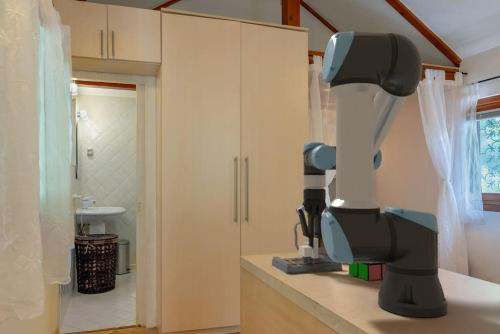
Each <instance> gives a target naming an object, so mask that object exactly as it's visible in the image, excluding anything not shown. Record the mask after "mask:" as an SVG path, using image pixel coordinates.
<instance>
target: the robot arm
mask: <svg viewBox="0 0 500 334" xmlns="http://www.w3.org/2000/svg"><path fill="white" fill-rule="evenodd" d="M327 43H328V44H327V45H326V49H325V51H324V55H323V61H322V69H321V75H322V81H323V82H324V83H326V84H329V92H330V93H331V94H332V95H333V96H334V97H335V98H336V99H335V101H336V111H335V113H336V114H335V117H336V118H335V119H336V121H335V125H336V126H335V127H336V128H335V130H336V131H335V132H336V133H335V134H336V135H335V137H336V138H335V141H336V143H335V145H334V146H333V145H332V146H331V145H328V144H325V143H324V142H320V141H319V142H316V141H315V142H307V143H304V145H303V152H302V156H303V176H302V177H303V181H302V182H303V184H302V185H303V187H304V188H303V193H302V194H303V202H302V206H300V207H299V208H297V207H296V209H295V212H296V213H297V215H298V217H299V221H300V223H301V224H300V227H301V231H302V236H304V237H306V238H308V242H309V246H310V247H312V258H314V259H316V258H318V248H320V239H321V238H323V242H324V246H325V249H326V252H327V254H328V256H329V257H330V259H331V260H333V261H334V262H337V263H341V264H348V265H349V264H353V263H385V275H384V278H383V280H382V281H381V284H380V288H379V291H378V293H377V305H378V306H379V307H380V308H381V309H383V310H385V311H387V312H390V313H393V314H397V315H402V316H406V317H413V318H414V317H415V318H437V317H443V316H444V315H446V314H447V313H448V301H447V298H446V297H445V293H444V289H443V286H442V283H441V280H440V278H439V277H440V276H439V233H440V232H439V225H438V219H437V216H436V215H435V214H433V213H432V212H427V211H421V210H415V209H405V208H398V207H393V206H386V207H385V208H384V211H383V212H381V204H379V203H378V202H377V201H376V200H375V199H374V174H375V173H374V170H375V171H376V170H378V169H379V168H380V167H381V164H382V160H383V157H382V156H383V155H382V151H381V147H382V146H383V143H384V141H385V139H386V138H387V136H388V134H389V132H390V130H391V128H392V127H393V125H394V123H395V121H396V119H397V117H398V115H399V113H400V111H401V110H402V107H403V105H404V104H405V102H406V100H407V98H409V97H411V96H412V95H414V94H415V91H416V90H417V89H418V86H419V85H420V82H421V79H422V75H423V60H422V56H421V53H420V51H419V48H418V46H417V45H416V44H415V42H413V40H411V39H410V38H408V37H407V36H405V35H403V34H401V33H395V32H386V33H385V32H371V31H369V32H365V31H364V32H363V31H355V30H351V31H339V32H335V33H334V34H333V35H332V36H331V37H330V39H329V41H328V42H327ZM326 170H327V171H335V198H334V199H333V200H332V201H331V202H330V203H329V205H327V202H326V199H327V198H326V195H327V192H326V186H327V184H326V183H327V182H326V181H327V180H326V179H327V177H326V175H327V174H326ZM305 212H306V214H305ZM306 216H307V219H306ZM314 218H315V238H314ZM321 218H322V221H321ZM307 226H308V227H307Z"/></svg>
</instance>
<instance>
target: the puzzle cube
mask: <svg viewBox="0 0 500 334" xmlns="http://www.w3.org/2000/svg"><path fill="white" fill-rule="evenodd" d="M348 274H349V275H351V276H353V277H356V278H359V279H362V280H364V281H367V282H371V281H372V282H374V281H380V280H382V281H383V278H384V275H385V263H353V264H349V263H348Z"/></svg>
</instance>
